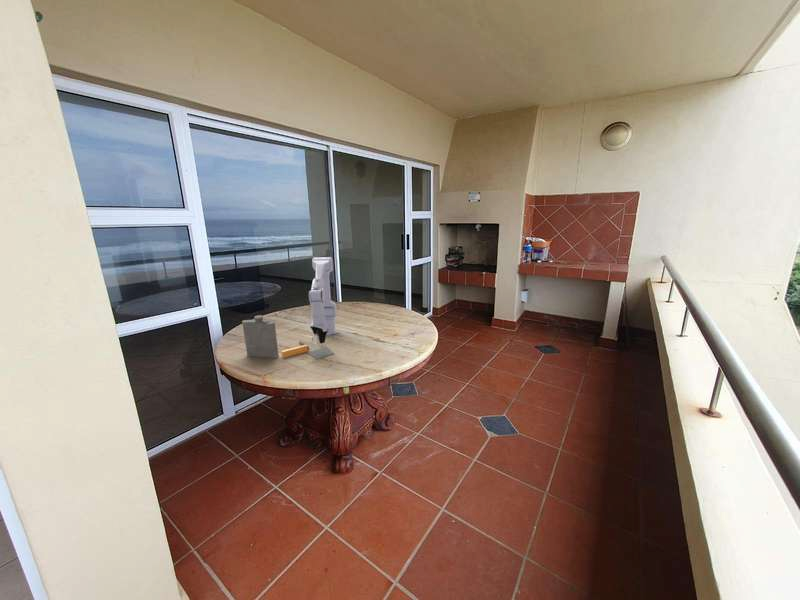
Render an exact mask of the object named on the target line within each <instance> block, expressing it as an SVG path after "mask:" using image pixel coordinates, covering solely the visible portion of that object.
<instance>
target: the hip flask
mask: <svg viewBox="0 0 800 600" xmlns="http://www.w3.org/2000/svg"><path fill="white" fill-rule="evenodd" d="M253 318H254V319H246V320H245V319H244V320H242V321H241V323H242V330H243V336H244V343H245V350H246V356H247V357H259V358H269V359H277V358H279V348H278V338H277V333H276V332H277V330H276V322H275V321H272V320H268V319H267V320H266V319H263V318H264V316H263V315H260V314H259V315H255V316H254V317H253Z"/></svg>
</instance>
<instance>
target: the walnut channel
mask: <svg viewBox="0 0 800 600" xmlns="http://www.w3.org/2000/svg"><path fill="white" fill-rule="evenodd" d="M311 340H312V341H313V336H312V337H311ZM298 343H299V345H300V346H303V345H307V343H305V342H304V340H302V339H300V340H298ZM309 347H310V346H309V345H307V349H308V350H310V348H309Z"/></svg>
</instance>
